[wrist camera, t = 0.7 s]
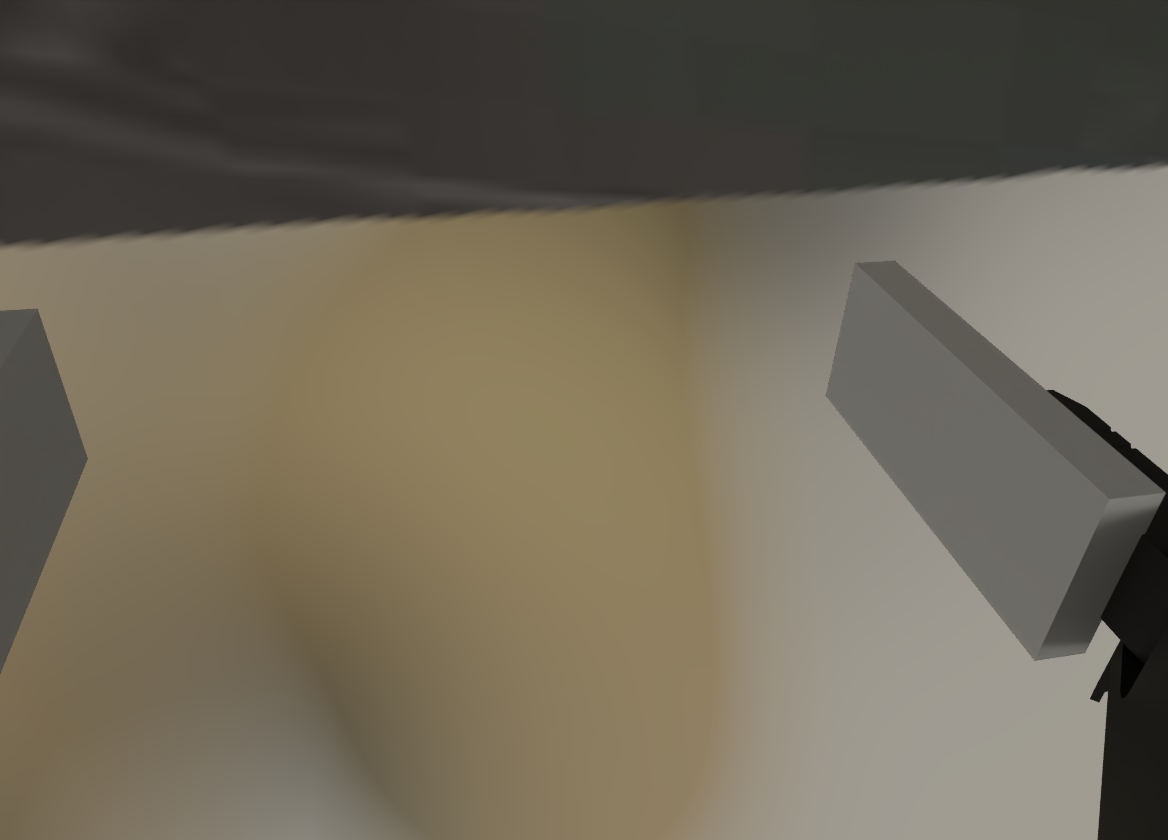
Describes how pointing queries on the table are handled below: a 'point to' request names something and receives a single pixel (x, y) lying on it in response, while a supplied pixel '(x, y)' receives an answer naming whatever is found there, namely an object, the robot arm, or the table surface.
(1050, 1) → the table surface
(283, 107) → the table surface
